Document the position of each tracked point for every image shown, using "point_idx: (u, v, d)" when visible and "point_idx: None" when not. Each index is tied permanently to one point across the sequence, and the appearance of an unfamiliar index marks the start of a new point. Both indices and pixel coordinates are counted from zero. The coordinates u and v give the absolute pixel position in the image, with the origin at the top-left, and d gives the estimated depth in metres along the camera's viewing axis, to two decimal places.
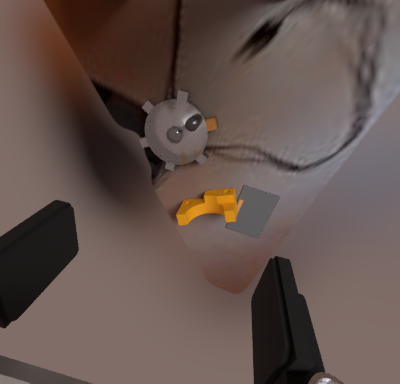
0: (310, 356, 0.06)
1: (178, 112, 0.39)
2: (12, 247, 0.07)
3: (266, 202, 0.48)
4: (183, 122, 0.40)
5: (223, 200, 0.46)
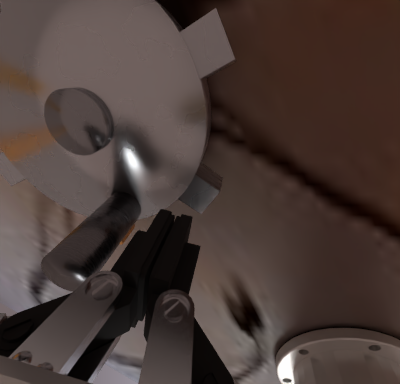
0: (167, 277, 0.07)
1: (154, 164, 0.11)
2: (151, 254, 0.08)
3: None
4: (122, 166, 0.12)
5: None
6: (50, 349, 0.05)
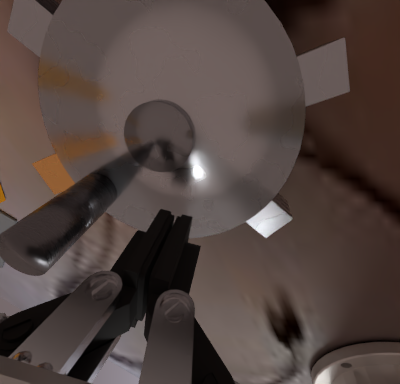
0: (167, 277, 0.07)
1: (160, 206, 0.12)
2: (151, 254, 0.08)
3: None
4: (139, 179, 0.11)
5: None
6: (50, 349, 0.05)
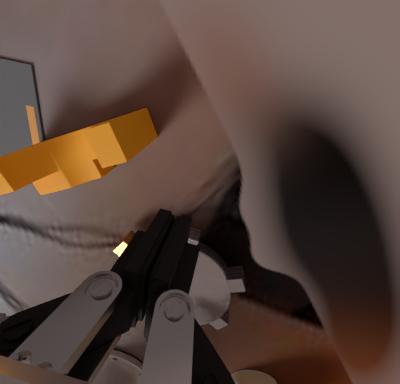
0: (167, 277, 0.07)
1: None
2: (151, 254, 0.08)
3: None
4: None
5: (52, 180, 0.20)
6: (50, 349, 0.05)
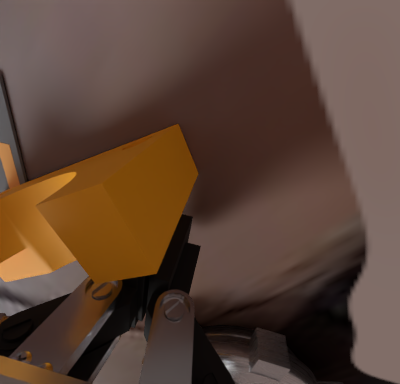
0: (167, 277, 0.07)
1: None
2: None
3: None
4: None
5: (19, 261, 0.11)
6: (50, 349, 0.05)
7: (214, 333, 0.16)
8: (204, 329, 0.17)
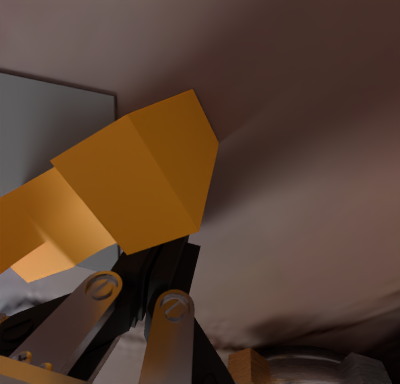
0: (167, 277, 0.07)
1: None
2: (151, 254, 0.08)
3: None
4: None
5: (39, 258, 0.11)
6: (50, 349, 0.05)
7: (293, 354, 0.16)
8: (279, 349, 0.17)
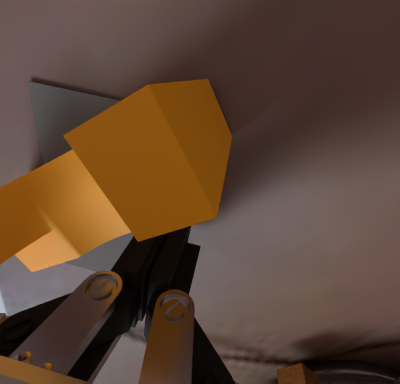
0: (167, 277, 0.07)
1: None
2: (151, 254, 0.08)
3: None
4: None
5: (45, 247, 0.11)
6: (50, 349, 0.05)
7: (341, 369, 0.16)
8: (326, 363, 0.16)
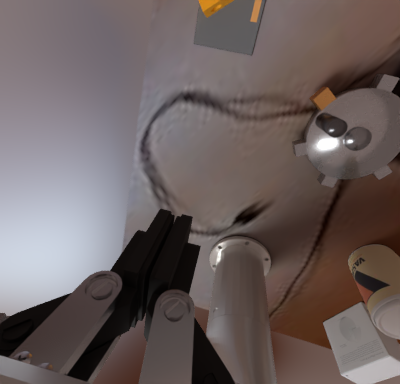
0: (167, 277, 0.07)
1: (323, 146, 0.31)
2: (151, 254, 0.08)
3: (211, 26, 0.29)
4: None
5: None
6: (50, 349, 0.05)
7: None
8: None
